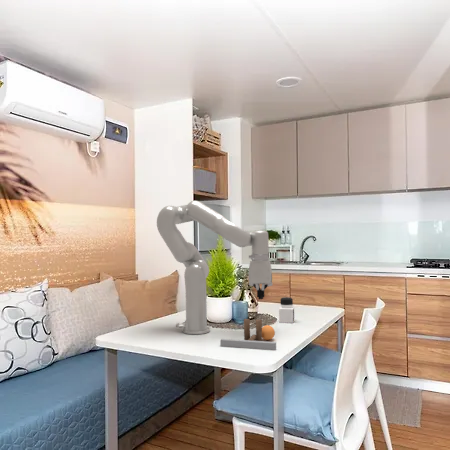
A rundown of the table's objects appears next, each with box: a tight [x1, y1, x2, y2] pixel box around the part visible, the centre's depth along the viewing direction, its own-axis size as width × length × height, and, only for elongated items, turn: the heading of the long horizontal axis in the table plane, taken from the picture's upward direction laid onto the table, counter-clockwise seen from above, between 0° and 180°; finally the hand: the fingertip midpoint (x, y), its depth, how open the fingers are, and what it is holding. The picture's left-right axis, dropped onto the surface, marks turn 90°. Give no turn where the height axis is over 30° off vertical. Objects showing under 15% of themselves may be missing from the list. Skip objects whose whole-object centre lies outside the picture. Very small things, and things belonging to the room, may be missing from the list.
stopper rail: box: [219, 338, 277, 351], centre depth 163 cm, size 22×2×2 cm, turn 73°
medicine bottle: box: [278, 296, 295, 324], centre depth 210 cm, size 7×7×12 cm
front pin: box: [248, 334, 256, 341], centre depth 170 cm, size 2×2×9 cm
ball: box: [262, 324, 276, 341], centre depth 174 cm, size 6×6×6 cm
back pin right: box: [255, 319, 263, 341], centre depth 171 cm, size 2×2×9 cm
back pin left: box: [243, 318, 251, 340], centre depth 172 cm, size 2×2×9 cm
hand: (260, 298), depth 187 cm, fingers closed
